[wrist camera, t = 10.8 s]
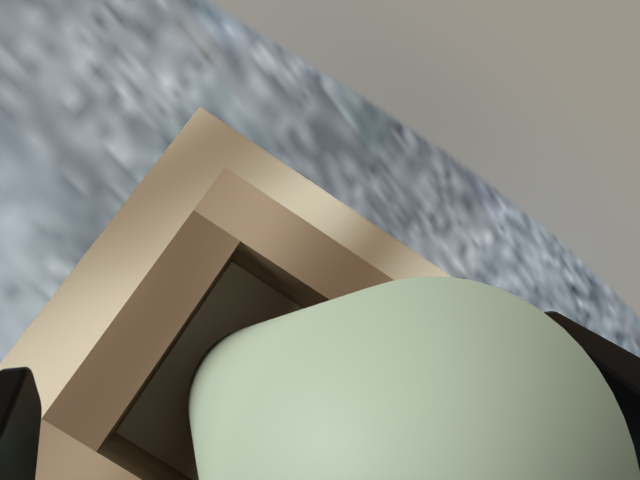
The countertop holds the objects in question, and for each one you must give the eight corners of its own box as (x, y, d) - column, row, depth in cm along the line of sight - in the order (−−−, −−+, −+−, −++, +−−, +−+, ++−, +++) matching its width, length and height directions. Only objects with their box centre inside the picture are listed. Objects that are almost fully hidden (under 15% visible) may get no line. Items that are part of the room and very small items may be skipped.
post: (344, 436, 18) (708, 626, 6) (213, 494, 17) (313, 904, 4) (299, 307, 18) (545, 223, 6) (168, 354, 17) (144, 368, 5)
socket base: (502, 328, 22) (590, 320, 17) (318, 703, 18) (364, 833, 13) (199, 123, 21) (201, 54, 16) (-71, 474, 17) (-178, 524, 12)
